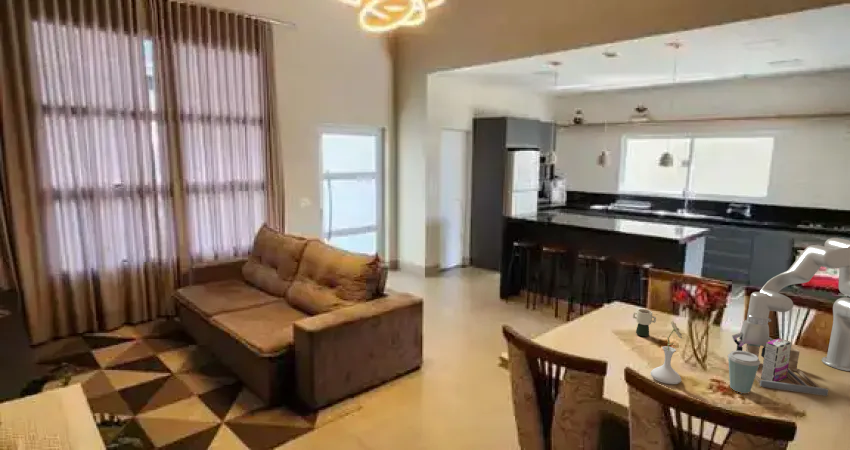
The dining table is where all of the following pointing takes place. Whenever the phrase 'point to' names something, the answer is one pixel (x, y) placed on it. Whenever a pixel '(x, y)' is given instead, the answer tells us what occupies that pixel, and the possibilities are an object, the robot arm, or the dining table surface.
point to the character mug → (643, 321)
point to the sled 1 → (755, 350)
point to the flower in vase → (667, 363)
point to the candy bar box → (776, 360)
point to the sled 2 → (793, 366)
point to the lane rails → (794, 386)
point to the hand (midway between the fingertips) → (751, 355)
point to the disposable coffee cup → (742, 370)
